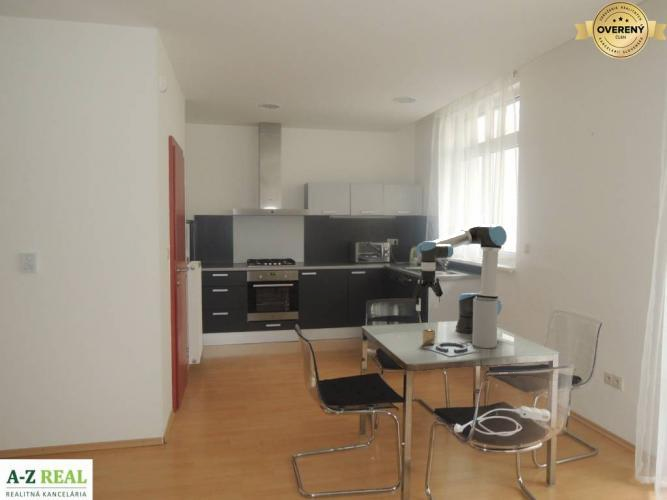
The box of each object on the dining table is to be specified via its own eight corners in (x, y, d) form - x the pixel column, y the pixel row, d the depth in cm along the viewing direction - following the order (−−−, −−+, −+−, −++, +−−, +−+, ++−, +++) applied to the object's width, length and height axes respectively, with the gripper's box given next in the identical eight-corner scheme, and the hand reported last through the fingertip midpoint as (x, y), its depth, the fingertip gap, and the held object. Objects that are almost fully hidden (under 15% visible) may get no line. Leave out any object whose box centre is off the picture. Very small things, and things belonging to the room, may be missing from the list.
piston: (429, 343, 272) (429, 328, 271) (437, 345, 266) (437, 330, 265) (420, 344, 268) (420, 329, 268) (427, 347, 263) (428, 331, 262)
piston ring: (452, 343, 269) (452, 340, 269) (474, 350, 254) (474, 347, 254) (428, 347, 261) (428, 344, 260) (450, 354, 246) (450, 351, 246)
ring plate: (452, 343, 271) (452, 342, 271) (479, 351, 254) (479, 350, 254) (424, 347, 261) (424, 346, 261) (450, 357, 244) (450, 355, 244)
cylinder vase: (482, 349, 258) (483, 302, 256) (467, 344, 270) (468, 298, 268) (501, 347, 263) (502, 300, 261) (486, 341, 274) (487, 297, 273)
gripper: (439, 268, 274) (439, 306, 275) (406, 270, 260) (405, 310, 262) (449, 269, 268) (449, 308, 269) (415, 272, 254) (415, 312, 255)
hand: (427, 309), depth 265 cm, fingers open, 13 cm apart
